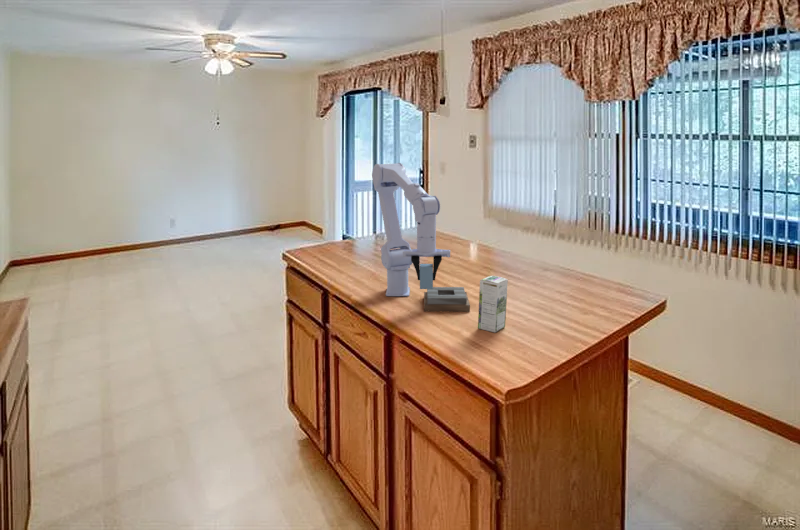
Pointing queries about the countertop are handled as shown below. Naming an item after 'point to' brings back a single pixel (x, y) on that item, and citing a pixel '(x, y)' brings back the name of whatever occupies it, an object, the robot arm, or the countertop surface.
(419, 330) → the countertop surface
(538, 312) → the countertop surface
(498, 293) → the syrup box
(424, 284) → the blue peg
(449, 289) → the socket block
